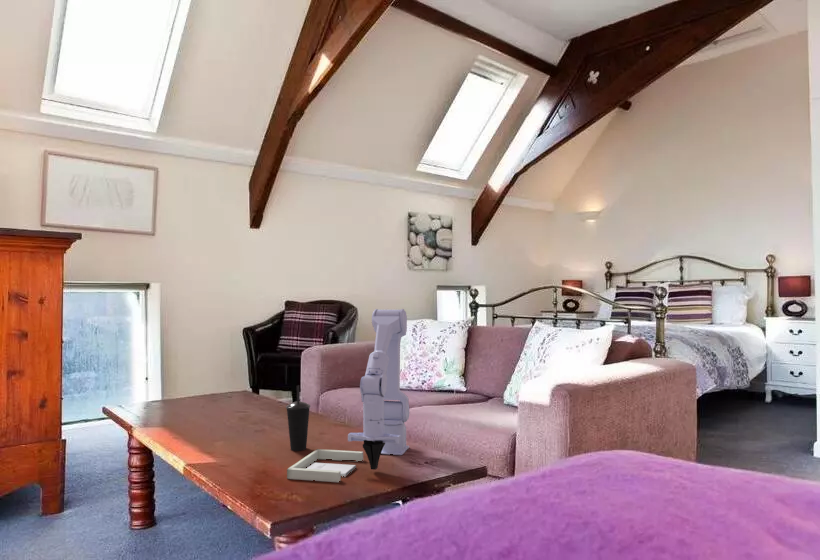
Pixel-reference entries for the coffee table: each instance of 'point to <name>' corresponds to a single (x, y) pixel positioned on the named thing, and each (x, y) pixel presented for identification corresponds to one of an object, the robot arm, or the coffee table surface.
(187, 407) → the coffee table surface
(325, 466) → the external hard drive
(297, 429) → the drinking cup
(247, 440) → the coffee table surface
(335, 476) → the open u-shaped rail
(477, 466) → the coffee table surface
